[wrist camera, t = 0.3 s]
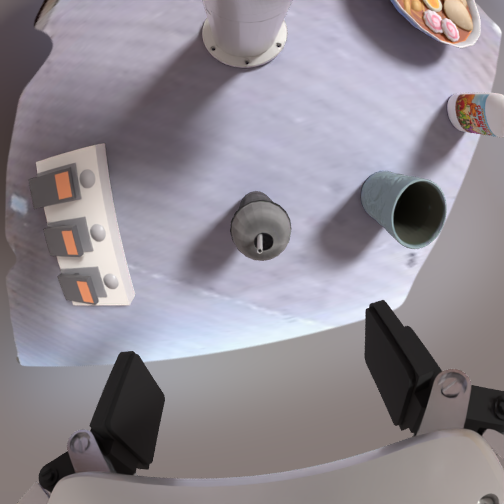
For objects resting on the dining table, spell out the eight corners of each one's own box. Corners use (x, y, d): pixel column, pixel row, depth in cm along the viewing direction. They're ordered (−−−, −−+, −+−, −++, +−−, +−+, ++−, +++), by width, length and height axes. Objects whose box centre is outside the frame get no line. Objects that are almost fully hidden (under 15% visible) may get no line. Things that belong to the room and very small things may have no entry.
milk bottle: (456, 85, 35) (533, 84, 17) (476, 114, 37) (550, 125, 19) (440, 109, 38) (521, 115, 19) (461, 139, 40) (538, 157, 22)
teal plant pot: (349, 179, 43) (382, 196, 32) (398, 157, 42) (439, 168, 31) (367, 231, 47) (400, 261, 36) (412, 208, 45) (451, 231, 35)
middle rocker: (50, 225, 40) (42, 229, 38) (79, 223, 39) (71, 227, 37) (57, 251, 42) (50, 256, 40) (86, 252, 41) (79, 257, 39)
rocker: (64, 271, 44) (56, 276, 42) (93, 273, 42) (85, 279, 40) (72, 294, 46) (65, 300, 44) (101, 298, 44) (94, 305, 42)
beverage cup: (251, 235, 46) (259, 306, 28) (223, 201, 44) (211, 254, 26) (287, 209, 45) (320, 266, 27) (260, 173, 42) (276, 206, 24)
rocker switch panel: (47, 159, 39) (34, 162, 35) (104, 143, 39) (94, 144, 35) (81, 295, 50) (72, 306, 46) (135, 294, 50) (129, 306, 47)
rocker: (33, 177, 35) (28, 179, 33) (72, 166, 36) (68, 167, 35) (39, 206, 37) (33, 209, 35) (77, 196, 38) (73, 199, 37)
